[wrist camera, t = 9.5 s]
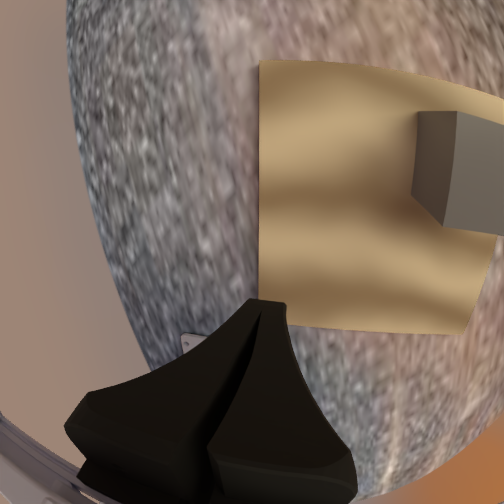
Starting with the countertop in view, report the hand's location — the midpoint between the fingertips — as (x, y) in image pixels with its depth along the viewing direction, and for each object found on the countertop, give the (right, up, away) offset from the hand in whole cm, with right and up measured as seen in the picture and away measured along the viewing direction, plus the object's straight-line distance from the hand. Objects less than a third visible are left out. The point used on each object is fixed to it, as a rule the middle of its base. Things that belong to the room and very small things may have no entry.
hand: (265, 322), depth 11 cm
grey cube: (+12, +8, +4) cm, 15 cm away
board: (+8, +5, +7) cm, 12 cm away
